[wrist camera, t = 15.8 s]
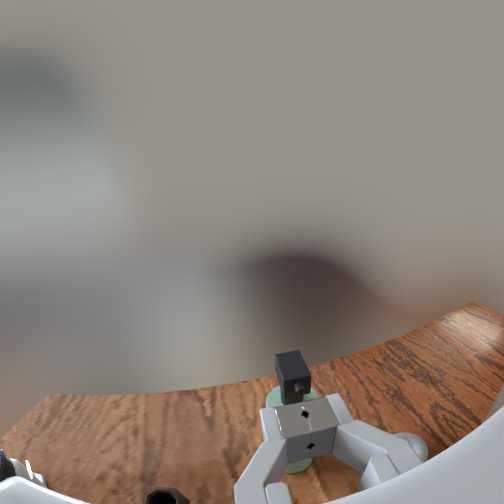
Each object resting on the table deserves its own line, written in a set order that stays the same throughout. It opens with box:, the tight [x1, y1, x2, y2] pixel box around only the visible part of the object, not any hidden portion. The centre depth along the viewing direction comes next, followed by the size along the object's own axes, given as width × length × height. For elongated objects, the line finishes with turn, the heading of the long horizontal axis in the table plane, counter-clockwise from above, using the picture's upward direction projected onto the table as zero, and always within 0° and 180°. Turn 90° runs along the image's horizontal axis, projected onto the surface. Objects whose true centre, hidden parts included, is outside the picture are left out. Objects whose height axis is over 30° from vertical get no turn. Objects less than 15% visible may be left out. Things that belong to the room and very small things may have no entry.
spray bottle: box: [266, 350, 318, 473], centre depth 33 cm, size 7×8×22 cm
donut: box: [394, 433, 428, 463], centre depth 29 cm, size 10×4×10 cm
